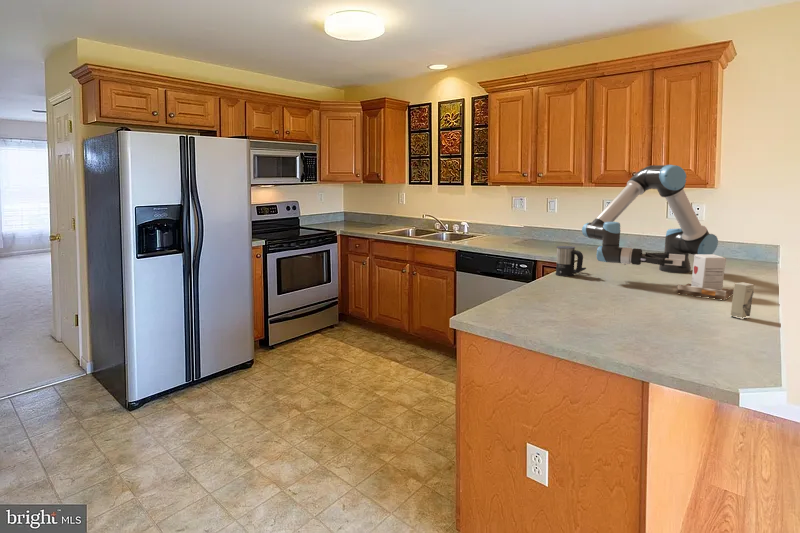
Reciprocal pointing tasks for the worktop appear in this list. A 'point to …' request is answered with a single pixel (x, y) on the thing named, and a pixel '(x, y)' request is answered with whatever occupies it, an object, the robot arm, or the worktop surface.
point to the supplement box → (708, 271)
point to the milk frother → (568, 261)
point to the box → (742, 299)
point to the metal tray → (704, 292)
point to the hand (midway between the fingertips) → (683, 260)
